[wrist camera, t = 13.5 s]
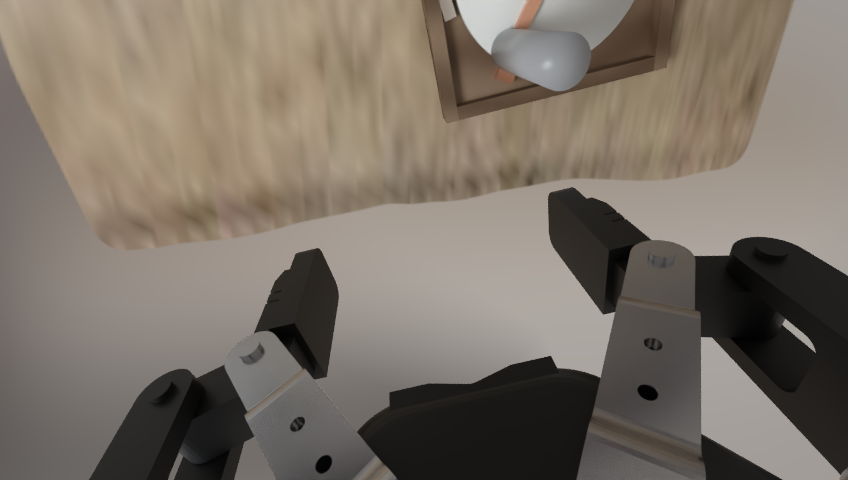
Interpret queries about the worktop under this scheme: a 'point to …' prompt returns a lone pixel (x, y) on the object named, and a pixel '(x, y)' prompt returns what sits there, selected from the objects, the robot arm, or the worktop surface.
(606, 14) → the cylinder on round base
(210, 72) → the worktop surface
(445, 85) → the wooden tray
